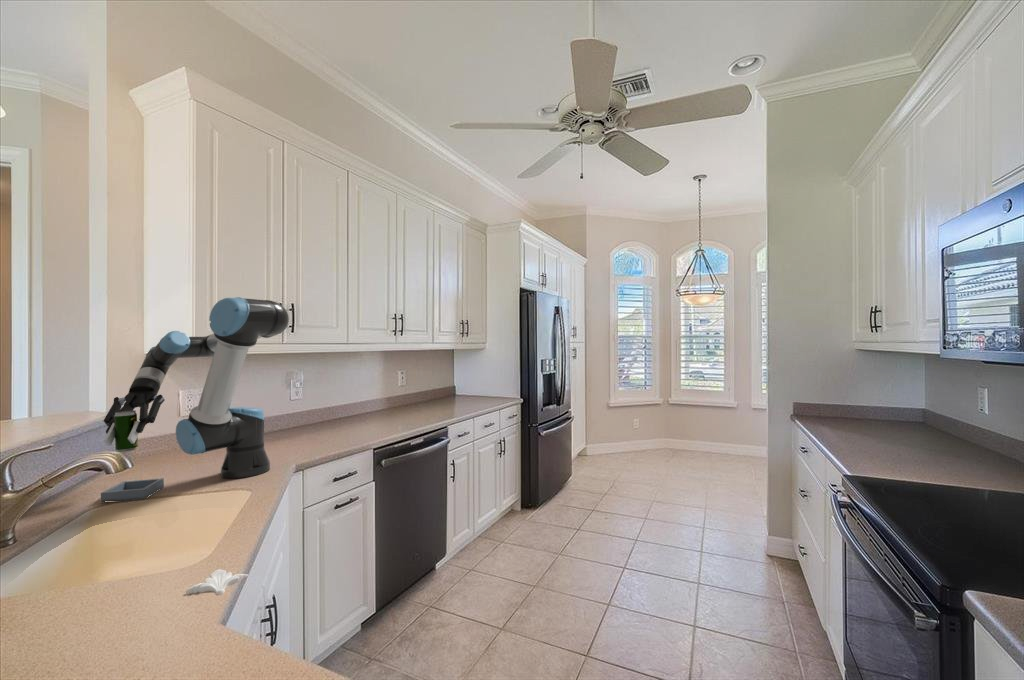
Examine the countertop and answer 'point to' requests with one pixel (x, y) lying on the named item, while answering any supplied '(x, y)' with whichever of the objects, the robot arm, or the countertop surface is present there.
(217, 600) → the countertop surface
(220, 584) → the acanthus leaf ornament
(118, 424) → the beer can
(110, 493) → the tray
